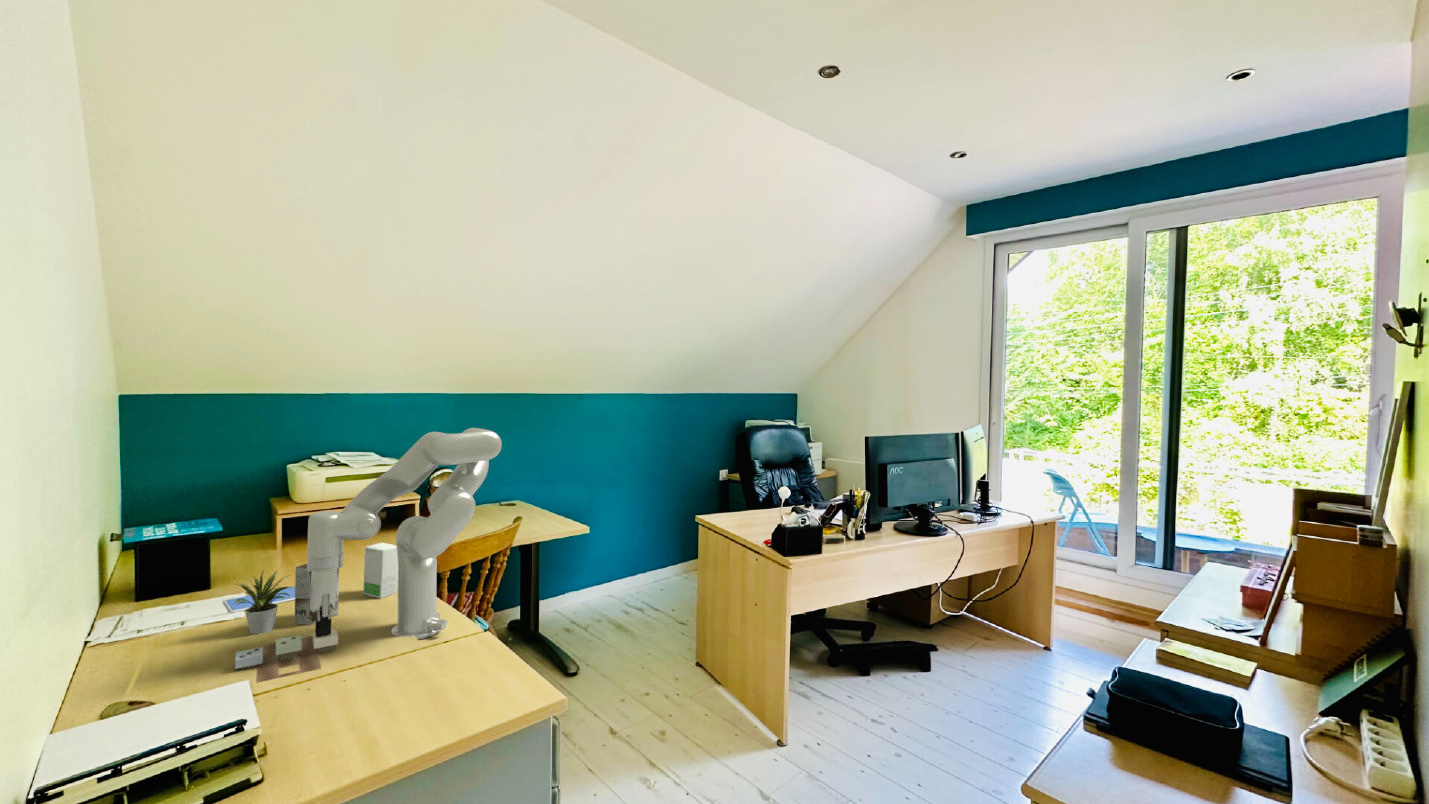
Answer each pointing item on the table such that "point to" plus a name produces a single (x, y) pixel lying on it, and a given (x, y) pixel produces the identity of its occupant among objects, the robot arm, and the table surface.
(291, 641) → the tile two
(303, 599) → the coffee box
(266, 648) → the tile board
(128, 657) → the table surface
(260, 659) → the tile three
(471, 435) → the robot arm
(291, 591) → the tablet computer
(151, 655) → the table surface
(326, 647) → the tile one
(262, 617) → the house plant
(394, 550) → the skincare box
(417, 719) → the table surface
